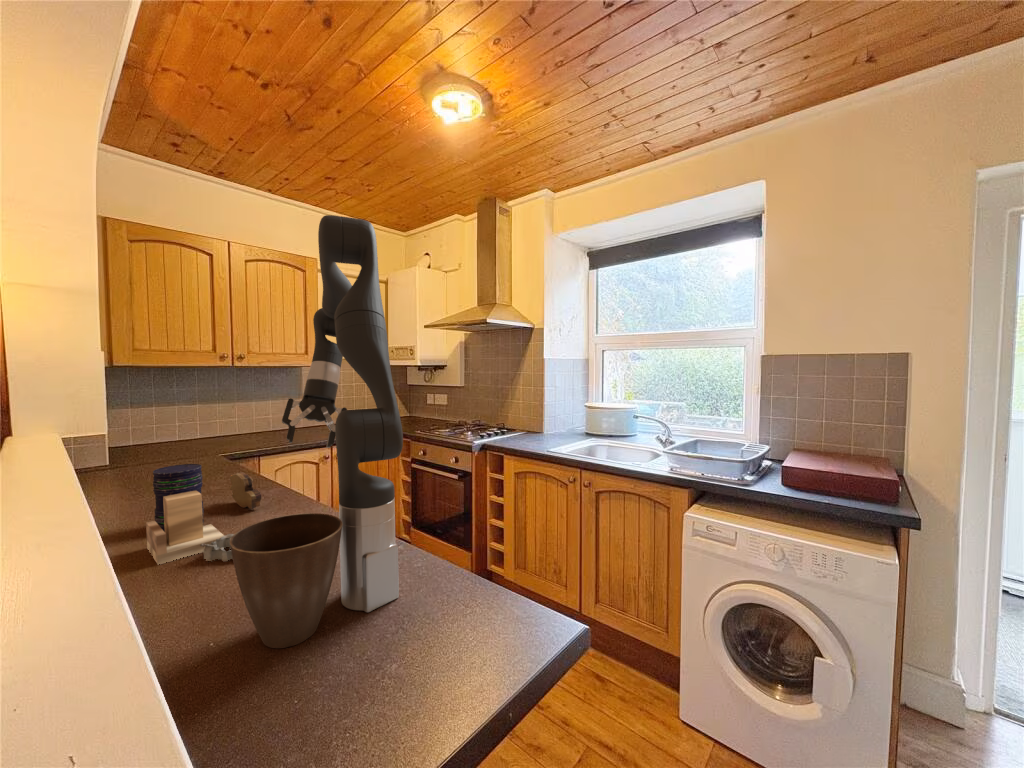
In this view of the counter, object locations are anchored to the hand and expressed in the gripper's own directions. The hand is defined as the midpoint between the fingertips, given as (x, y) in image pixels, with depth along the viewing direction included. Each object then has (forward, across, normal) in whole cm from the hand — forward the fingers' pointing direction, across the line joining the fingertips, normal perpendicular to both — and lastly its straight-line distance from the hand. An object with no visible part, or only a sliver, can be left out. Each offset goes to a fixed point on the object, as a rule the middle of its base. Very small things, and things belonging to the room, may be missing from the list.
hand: (309, 444), depth 102 cm
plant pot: (+32, 0, -34) cm, 47 cm away
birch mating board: (+25, -20, +11) cm, 34 cm away
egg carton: (+26, -10, +1) cm, 27 cm away
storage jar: (+22, -24, +27) cm, 42 cm away
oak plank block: (+23, -21, +10) cm, 33 cm away
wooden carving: (+16, -10, +35) cm, 40 cm away
